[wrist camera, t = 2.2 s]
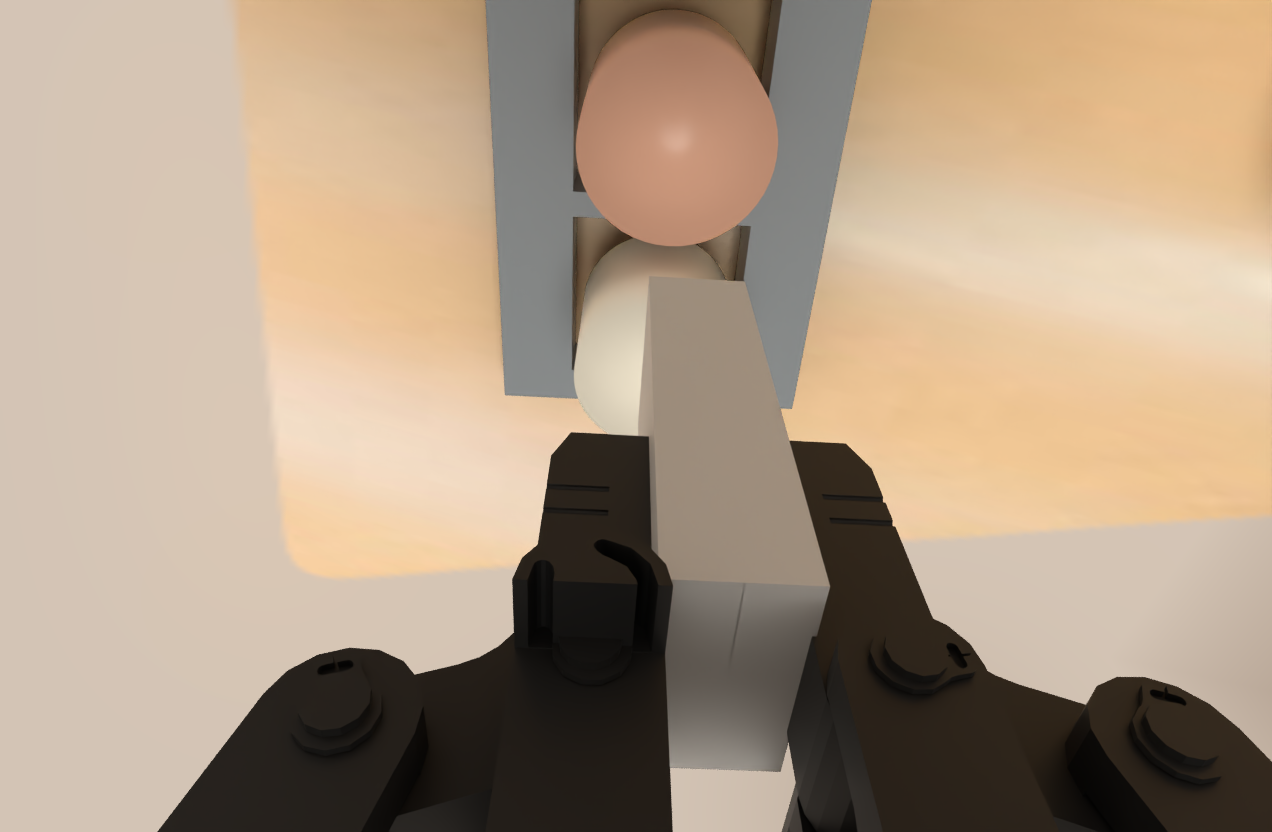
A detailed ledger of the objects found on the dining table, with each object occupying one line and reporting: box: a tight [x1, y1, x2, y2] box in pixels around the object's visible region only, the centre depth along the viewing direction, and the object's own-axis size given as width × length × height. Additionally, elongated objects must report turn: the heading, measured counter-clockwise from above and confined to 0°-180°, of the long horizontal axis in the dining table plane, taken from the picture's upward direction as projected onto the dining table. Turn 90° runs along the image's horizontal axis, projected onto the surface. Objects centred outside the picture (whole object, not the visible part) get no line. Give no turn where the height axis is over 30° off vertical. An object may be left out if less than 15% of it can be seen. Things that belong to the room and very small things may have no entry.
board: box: [486, 0, 872, 409], centre depth 30 cm, size 26×13×2 cm, turn 177°
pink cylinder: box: [576, 9, 778, 246], centre depth 26 cm, size 6×6×6 cm
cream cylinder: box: [574, 238, 725, 436], centre depth 31 cm, size 6×6×6 cm
